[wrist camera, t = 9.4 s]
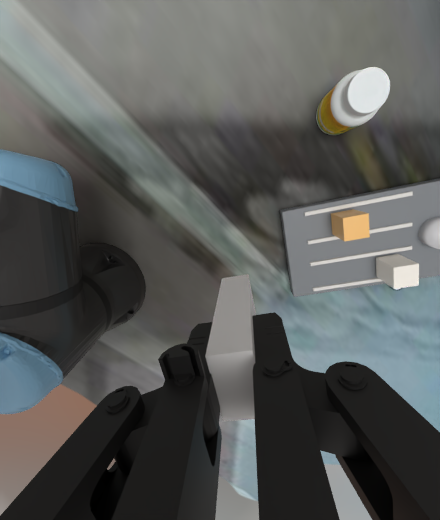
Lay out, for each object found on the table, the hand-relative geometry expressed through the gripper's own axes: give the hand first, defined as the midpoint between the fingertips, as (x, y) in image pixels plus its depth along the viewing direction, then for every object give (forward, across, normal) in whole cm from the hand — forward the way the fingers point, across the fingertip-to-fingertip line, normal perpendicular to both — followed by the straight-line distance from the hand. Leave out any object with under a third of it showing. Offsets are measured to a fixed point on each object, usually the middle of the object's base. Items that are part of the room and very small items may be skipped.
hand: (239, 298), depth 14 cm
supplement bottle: (+27, +15, +12) cm, 33 cm away
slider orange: (+24, +14, -2) cm, 28 cm away
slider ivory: (+24, +20, -10) cm, 32 cm away
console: (+26, +18, -6) cm, 32 cm away
